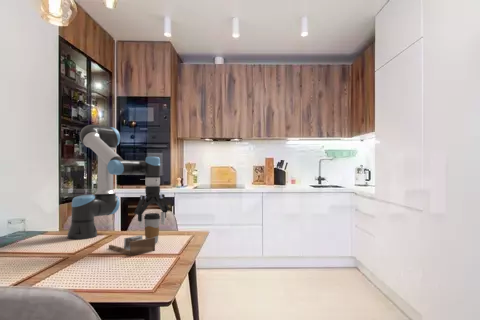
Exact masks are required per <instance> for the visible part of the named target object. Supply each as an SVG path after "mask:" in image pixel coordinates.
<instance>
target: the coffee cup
mask: <svg viewBox="0 0 480 320" xmlns="http://www.w3.org/2000/svg"><path fill="white" fill-rule="evenodd" d="M143 221H144V239H148V238H153V237H154V238H155V244H157V243H158V242H159V235H160V234H159V233H160V224H161V215H160V213H158V212H152V213H150V212H149V213H145V214H144V217H143Z"/></svg>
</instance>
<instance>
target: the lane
mask: <svg viewBox="0 0 480 320" xmlns="http://www.w3.org/2000/svg"><path fill="white" fill-rule="evenodd" d="M108 249H110V250H112V249H113V251H115V250H116V252H120V253H122V254H126V255H127V256H136V255H141V254H145V253H149V252H154V251H156V243H155V238H154V237H153V238H148V239H145V238H144V239H143V238H142V240H137V241H132V242H130V250H127V249H124V247H120V246H117V245H114V244H108Z"/></svg>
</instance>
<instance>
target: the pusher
mask: <svg viewBox="0 0 480 320" xmlns="http://www.w3.org/2000/svg"><path fill="white" fill-rule="evenodd" d="M142 239H143V235H136V236H134V235H133V236H131V237H125V238H124V240H123V241H124V242H123V248H124V249H127V250H130V242H132V241H137V240H142Z"/></svg>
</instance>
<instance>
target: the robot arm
mask: <svg viewBox="0 0 480 320" xmlns="http://www.w3.org/2000/svg"><path fill="white" fill-rule="evenodd" d="M120 134H121V133H120V131H119V130H118V129H117V128H115V127H112V126H105V125H96V124H88V125H85V126H84V127H83V128H82V129H81V130H80V132H79V139H80V142H81V143H82V144H83V145H84V146H85V147H86V148H89V149H90V150H92V151H93V152H94V153H95V154H96V156H97V191H96V192H95V193H94V194H82V195H78V196H75V197H73V198H72V200H71V219H70V220H71V223H70V226H69V228H68V229H69V230H68V232H67V239H70V240H85V239H91V238H95V237H97V236H98V231H97V228H96V225H95V217H102V216H110V215H114V214H116V213H117V211H119V208H120V205H121V204H120V203H121V202H120V198H119V197H118V195H116V191H114V175H115V176H120V175H121V176H122V175H124V176H127V175H133V176H134V175H135V176H139V175H145V178H144V179H145V182H144V183H145V189H144V193H145V195H144V194H143V195H139V201H138V202H137V205H136V208H135V210H134V215H137V221H138V228H139V229H144V216H145V214H144V212H145V211H146V210H147V208H148V207H149V205H151V204H156V206H158V208H159V209H160V210H161V212H160V225H166V218H167V213H168V211H170V207H169V206H168V203H167V201H166V197H165V194H163V193H161V186H160V185H161V159H160V157H159V156H146V157H145V159H144V160H127V159H126V160H125V159H123V158H122V156H120V155H119V154H118V153H117V152H116V151H115V150H116V149H117V146H119V144H120V142H121V135H120ZM160 193H161V194H160Z"/></svg>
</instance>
